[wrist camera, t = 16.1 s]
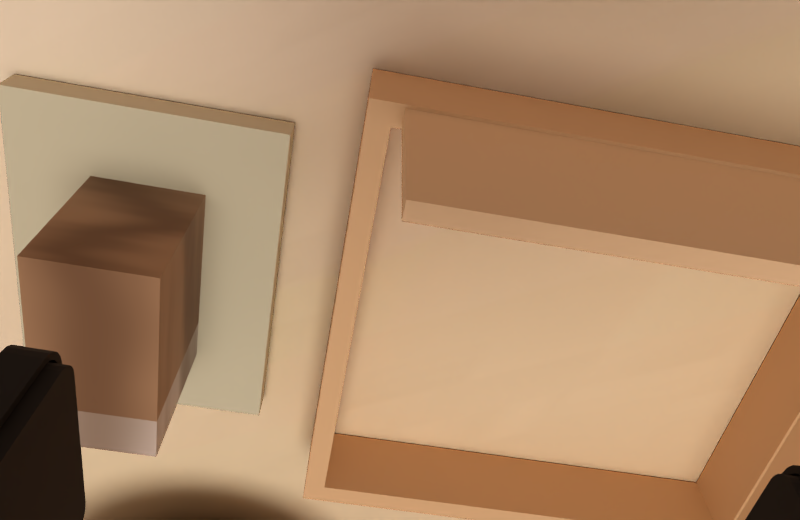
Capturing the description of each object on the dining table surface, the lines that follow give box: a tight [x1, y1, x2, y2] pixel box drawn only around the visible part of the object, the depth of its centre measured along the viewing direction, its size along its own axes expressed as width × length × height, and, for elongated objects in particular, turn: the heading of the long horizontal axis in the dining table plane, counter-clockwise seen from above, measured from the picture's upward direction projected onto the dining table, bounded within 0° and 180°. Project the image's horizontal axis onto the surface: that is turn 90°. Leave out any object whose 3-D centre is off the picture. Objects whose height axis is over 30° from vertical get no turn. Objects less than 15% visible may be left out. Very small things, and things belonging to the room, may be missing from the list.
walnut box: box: [17, 176, 206, 457], centre depth 31 cm, size 5×9×7 cm, turn 169°
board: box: [0, 74, 295, 415], centre depth 35 cm, size 12×16×2 cm
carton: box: [303, 69, 800, 520], centre depth 32 cm, size 24×22×12 cm
